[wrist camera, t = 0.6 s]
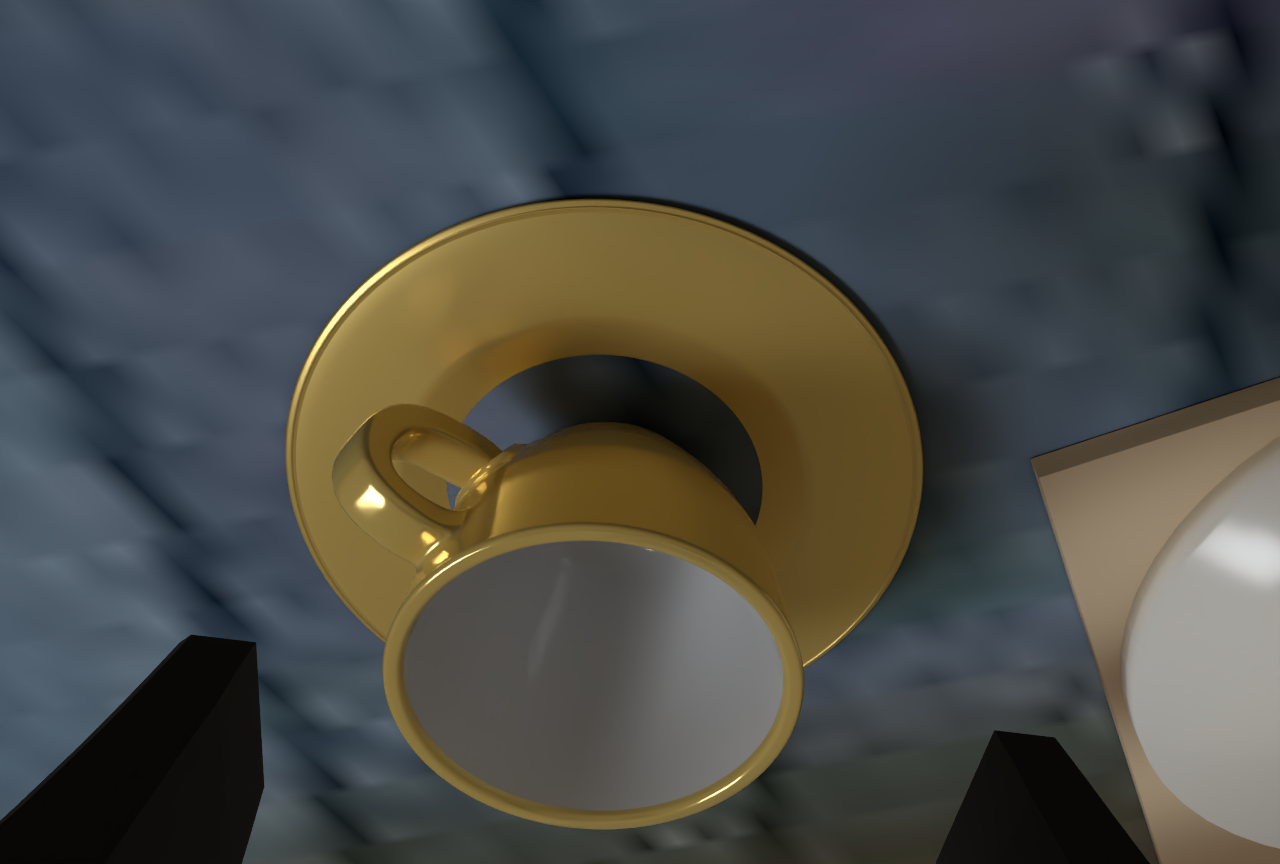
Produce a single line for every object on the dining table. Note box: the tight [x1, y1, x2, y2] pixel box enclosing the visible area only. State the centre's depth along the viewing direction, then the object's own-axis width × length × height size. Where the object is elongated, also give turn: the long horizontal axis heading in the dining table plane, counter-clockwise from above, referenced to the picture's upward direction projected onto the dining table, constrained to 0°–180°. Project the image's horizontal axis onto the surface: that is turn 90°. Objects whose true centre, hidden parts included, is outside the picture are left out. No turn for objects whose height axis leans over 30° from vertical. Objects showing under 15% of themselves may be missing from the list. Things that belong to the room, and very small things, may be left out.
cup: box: [285, 199, 923, 829], centre depth 20 cm, size 12×12×5 cm
